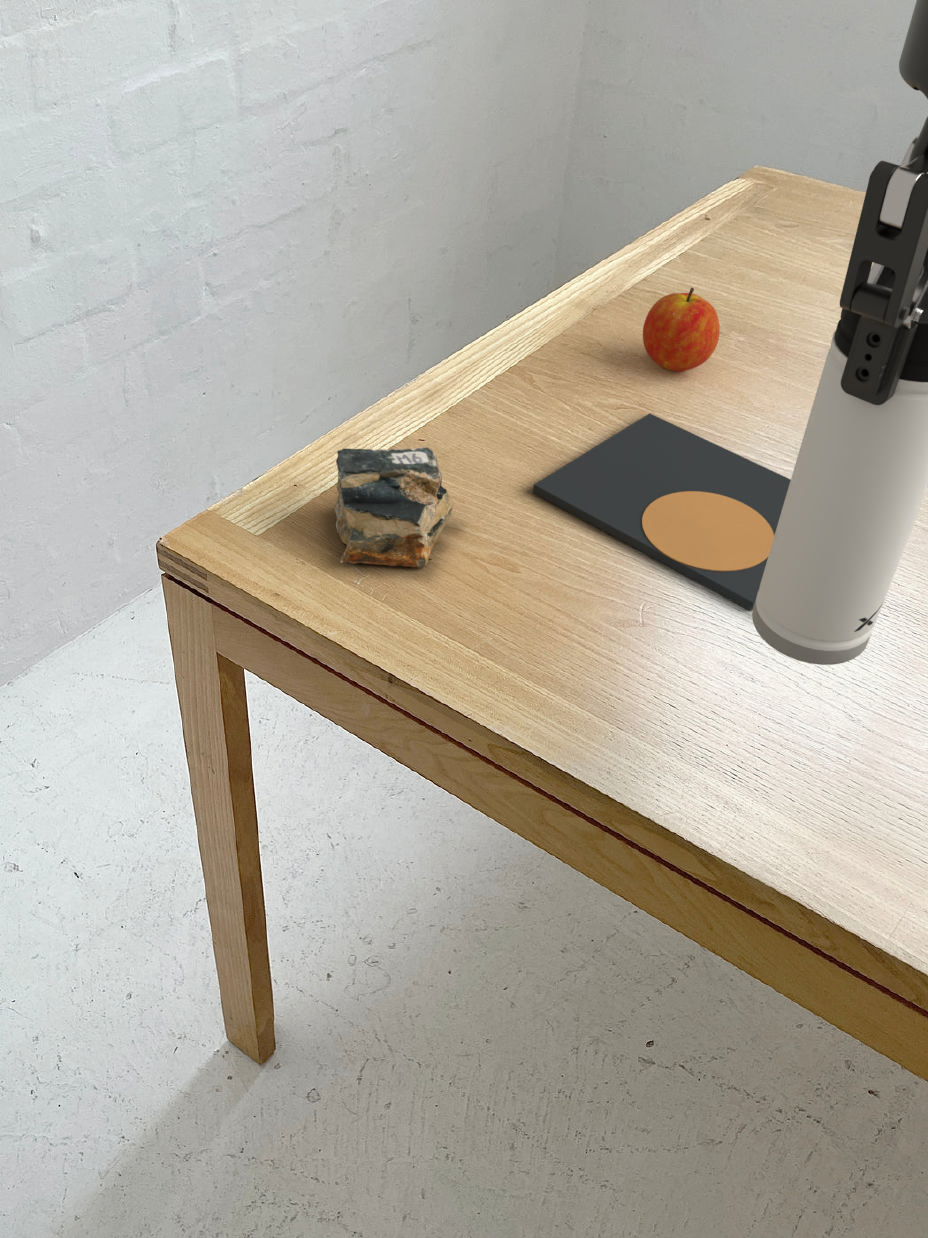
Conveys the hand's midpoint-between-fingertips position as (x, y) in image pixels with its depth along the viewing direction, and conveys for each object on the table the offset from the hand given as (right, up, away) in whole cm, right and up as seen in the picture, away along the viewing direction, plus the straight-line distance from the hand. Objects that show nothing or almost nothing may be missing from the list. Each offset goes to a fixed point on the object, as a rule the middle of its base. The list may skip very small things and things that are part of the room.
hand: (899, 369), depth 51 cm
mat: (-2, -2, +38) cm, 38 cm away
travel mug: (-1, -12, +10) cm, 16 cm away
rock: (-25, -5, +33) cm, 42 cm away
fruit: (0, +12, +55) cm, 56 cm away
